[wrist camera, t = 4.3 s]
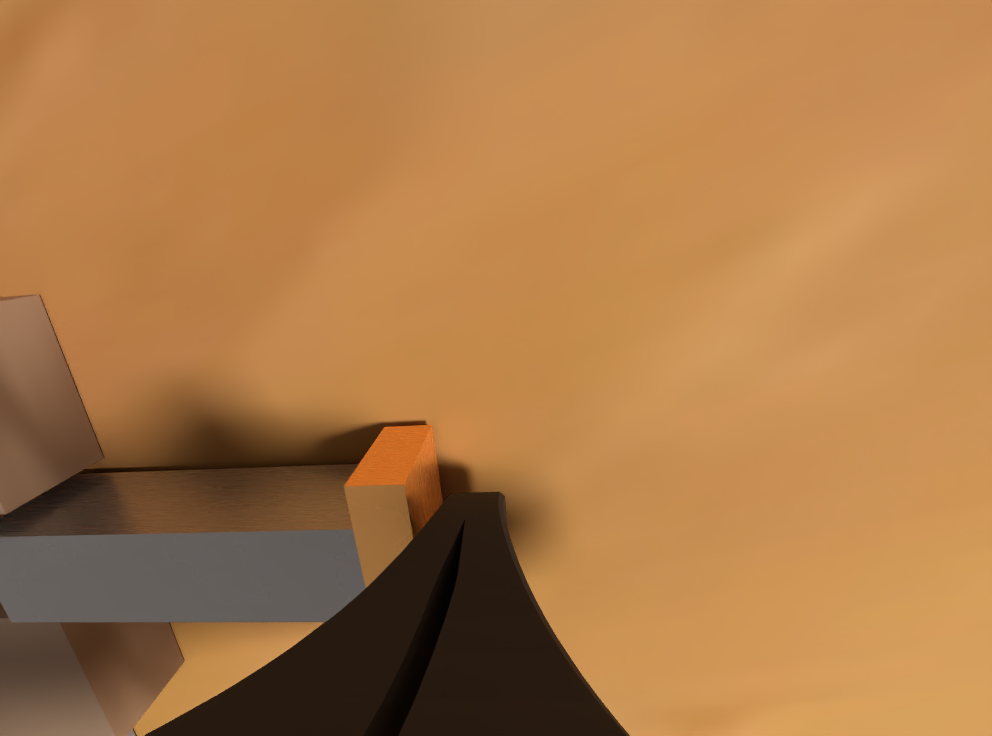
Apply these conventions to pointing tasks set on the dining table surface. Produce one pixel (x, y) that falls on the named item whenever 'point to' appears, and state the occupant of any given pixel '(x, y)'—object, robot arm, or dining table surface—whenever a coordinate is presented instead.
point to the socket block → (62, 645)
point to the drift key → (218, 539)
